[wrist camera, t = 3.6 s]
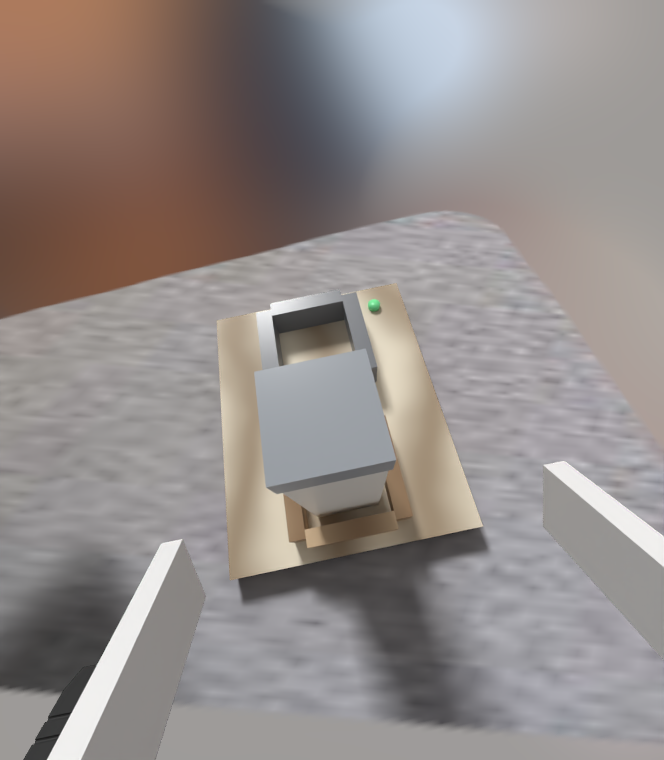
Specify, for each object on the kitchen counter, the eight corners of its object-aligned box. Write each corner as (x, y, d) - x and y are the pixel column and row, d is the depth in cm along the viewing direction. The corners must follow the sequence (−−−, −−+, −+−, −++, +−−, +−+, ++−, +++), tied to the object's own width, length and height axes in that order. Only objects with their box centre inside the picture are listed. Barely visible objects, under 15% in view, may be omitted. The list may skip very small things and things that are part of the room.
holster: (296, 551, 22) (290, 551, 20) (281, 439, 25) (275, 430, 23) (411, 527, 22) (415, 525, 20) (382, 418, 25) (383, 408, 23)
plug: (317, 519, 23) (265, 487, 11) (307, 456, 24) (254, 371, 13) (380, 505, 23) (396, 459, 11) (365, 443, 25) (365, 348, 13)
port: (274, 411, 26) (265, 398, 24) (263, 324, 30) (255, 306, 28) (404, 383, 26) (407, 368, 24) (378, 301, 30) (379, 280, 28)
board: (236, 579, 23) (229, 580, 22) (221, 328, 31) (216, 320, 30) (477, 527, 23) (483, 526, 22) (395, 292, 32) (396, 283, 30)
